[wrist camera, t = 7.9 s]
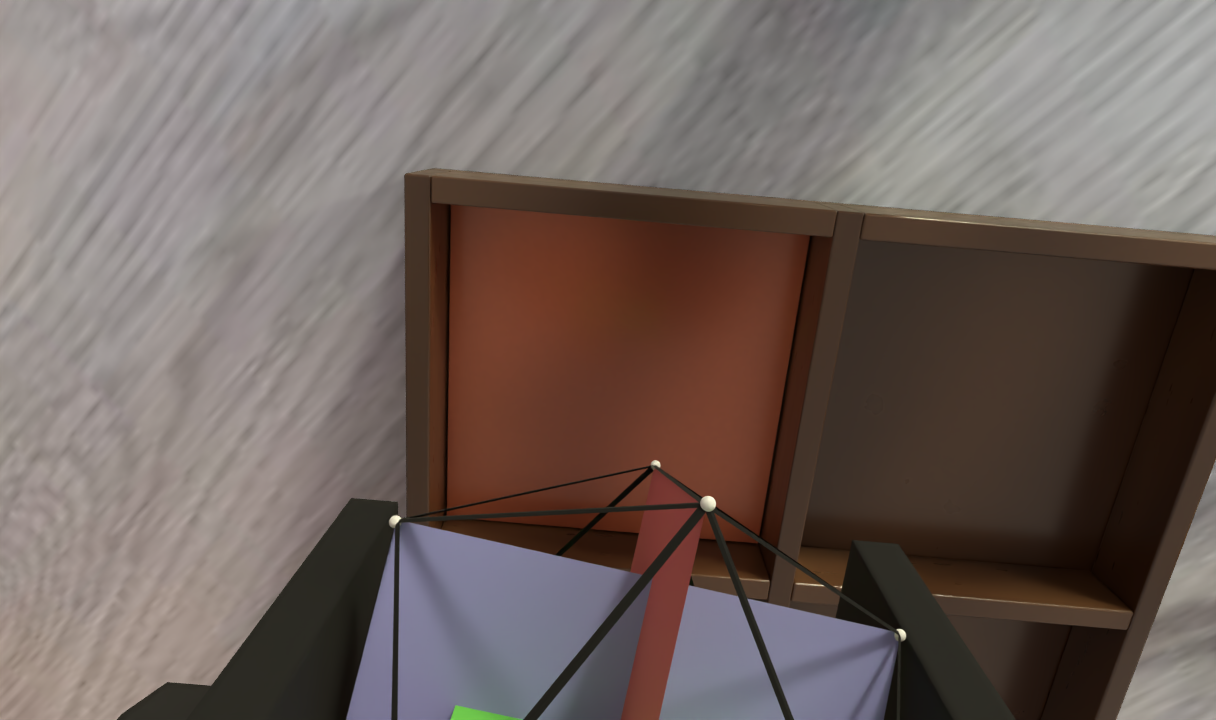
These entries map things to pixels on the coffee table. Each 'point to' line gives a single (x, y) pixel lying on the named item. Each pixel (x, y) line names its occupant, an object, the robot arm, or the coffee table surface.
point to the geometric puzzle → (605, 630)
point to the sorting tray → (826, 400)
